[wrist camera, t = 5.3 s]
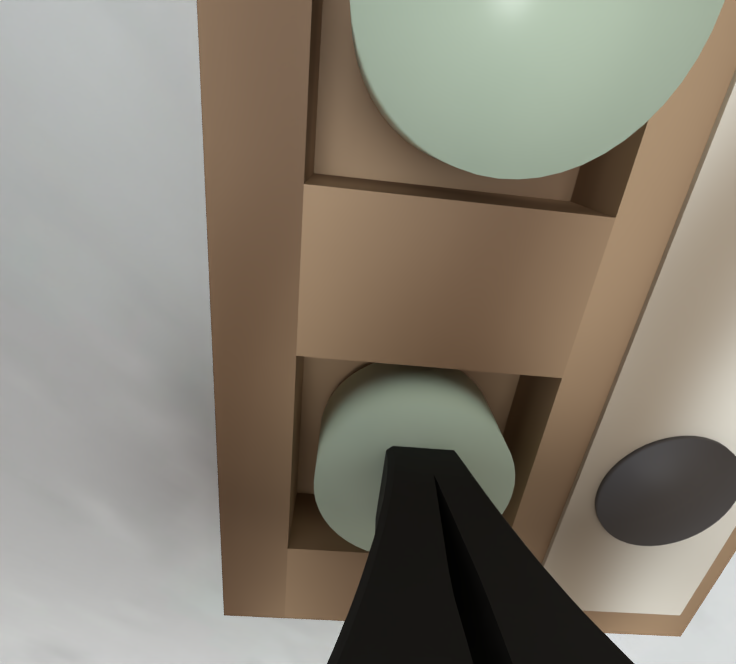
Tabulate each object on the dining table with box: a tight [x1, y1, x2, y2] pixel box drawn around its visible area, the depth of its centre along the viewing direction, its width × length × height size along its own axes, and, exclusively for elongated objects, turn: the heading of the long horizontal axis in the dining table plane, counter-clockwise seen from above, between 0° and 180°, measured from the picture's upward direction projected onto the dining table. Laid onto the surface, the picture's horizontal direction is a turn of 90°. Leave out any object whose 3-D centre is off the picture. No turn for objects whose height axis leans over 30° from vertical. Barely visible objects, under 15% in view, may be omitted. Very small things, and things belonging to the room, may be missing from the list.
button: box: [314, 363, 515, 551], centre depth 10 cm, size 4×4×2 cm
